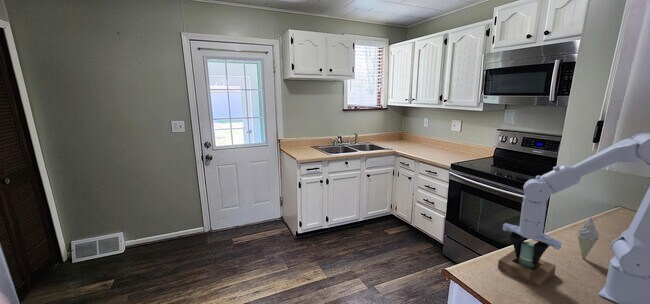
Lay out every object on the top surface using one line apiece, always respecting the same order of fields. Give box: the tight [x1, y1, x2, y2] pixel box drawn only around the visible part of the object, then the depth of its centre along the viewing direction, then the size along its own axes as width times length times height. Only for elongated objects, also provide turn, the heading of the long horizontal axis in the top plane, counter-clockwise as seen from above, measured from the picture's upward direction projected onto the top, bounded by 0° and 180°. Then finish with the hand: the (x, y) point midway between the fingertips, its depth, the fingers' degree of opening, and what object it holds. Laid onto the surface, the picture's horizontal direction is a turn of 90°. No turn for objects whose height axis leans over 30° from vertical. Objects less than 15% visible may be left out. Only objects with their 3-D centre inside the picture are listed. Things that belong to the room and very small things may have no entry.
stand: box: [497, 249, 557, 289], centre depth 84 cm, size 11×11×3 cm
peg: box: [518, 241, 535, 270], centre depth 83 cm, size 4×4×7 cm
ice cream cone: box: [576, 217, 600, 260], centre depth 88 cm, size 5×5×15 cm
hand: (527, 260), depth 83 cm, fingers closed on peg, 4 cm apart
